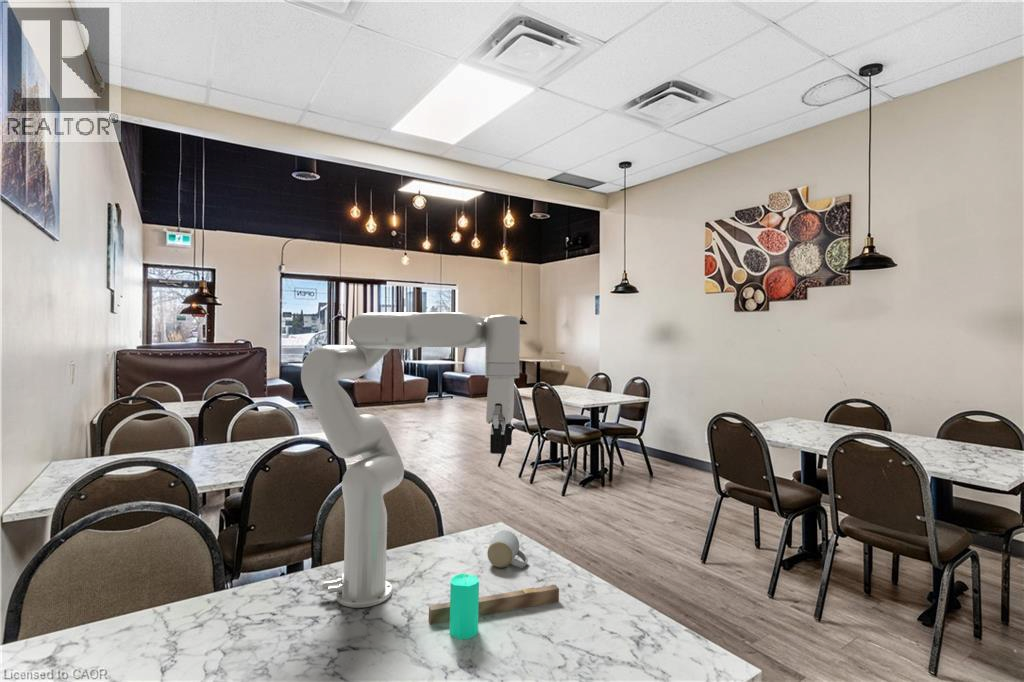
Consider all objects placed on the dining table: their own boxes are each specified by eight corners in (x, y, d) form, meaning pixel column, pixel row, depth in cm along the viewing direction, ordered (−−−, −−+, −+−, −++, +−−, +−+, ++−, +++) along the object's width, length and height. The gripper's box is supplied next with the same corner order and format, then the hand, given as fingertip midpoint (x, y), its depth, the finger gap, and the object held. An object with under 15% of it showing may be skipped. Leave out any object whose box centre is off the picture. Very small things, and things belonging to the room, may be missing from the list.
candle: (473, 641, 99) (475, 580, 99) (445, 637, 100) (446, 577, 101) (481, 625, 105) (482, 567, 105) (454, 621, 106) (455, 564, 106)
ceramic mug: (485, 568, 133) (486, 539, 133) (492, 555, 141) (493, 528, 141) (524, 573, 131) (525, 543, 131) (529, 560, 139) (530, 532, 139)
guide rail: (430, 624, 105) (430, 609, 105) (428, 619, 107) (429, 604, 107) (558, 601, 115) (559, 587, 116) (555, 597, 117) (555, 583, 117)
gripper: (492, 369, 119) (491, 441, 119) (477, 372, 102) (476, 456, 101) (523, 370, 118) (522, 442, 118) (514, 373, 101) (513, 458, 100)
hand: (501, 449), depth 109 cm, fingers open, 9 cm apart
